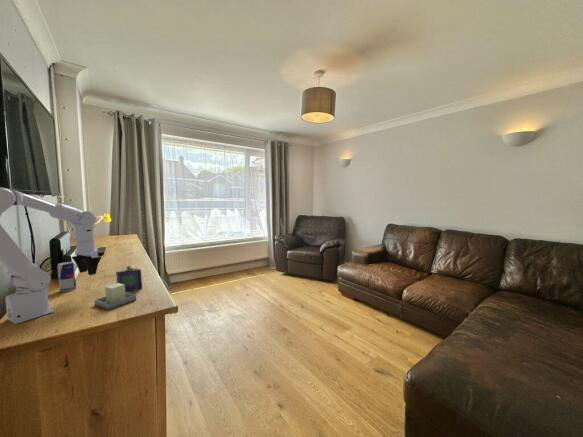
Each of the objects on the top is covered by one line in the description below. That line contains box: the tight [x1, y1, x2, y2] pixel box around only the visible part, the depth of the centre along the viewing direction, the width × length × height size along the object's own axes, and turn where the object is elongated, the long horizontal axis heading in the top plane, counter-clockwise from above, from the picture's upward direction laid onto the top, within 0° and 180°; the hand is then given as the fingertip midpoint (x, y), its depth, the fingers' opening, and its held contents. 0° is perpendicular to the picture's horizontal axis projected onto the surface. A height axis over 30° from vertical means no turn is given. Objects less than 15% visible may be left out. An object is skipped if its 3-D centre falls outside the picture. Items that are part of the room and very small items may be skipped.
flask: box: [115, 265, 143, 292], centre depth 104 cm, size 9×3×11 cm, turn 109°
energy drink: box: [56, 261, 77, 293], centre depth 105 cm, size 5×5×12 cm
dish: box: [94, 291, 137, 311], centre depth 91 cm, size 10×10×2 cm
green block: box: [104, 282, 126, 303], centre depth 91 cm, size 4×4×6 cm
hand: (87, 273), depth 98 cm, fingers open, 7 cm apart
